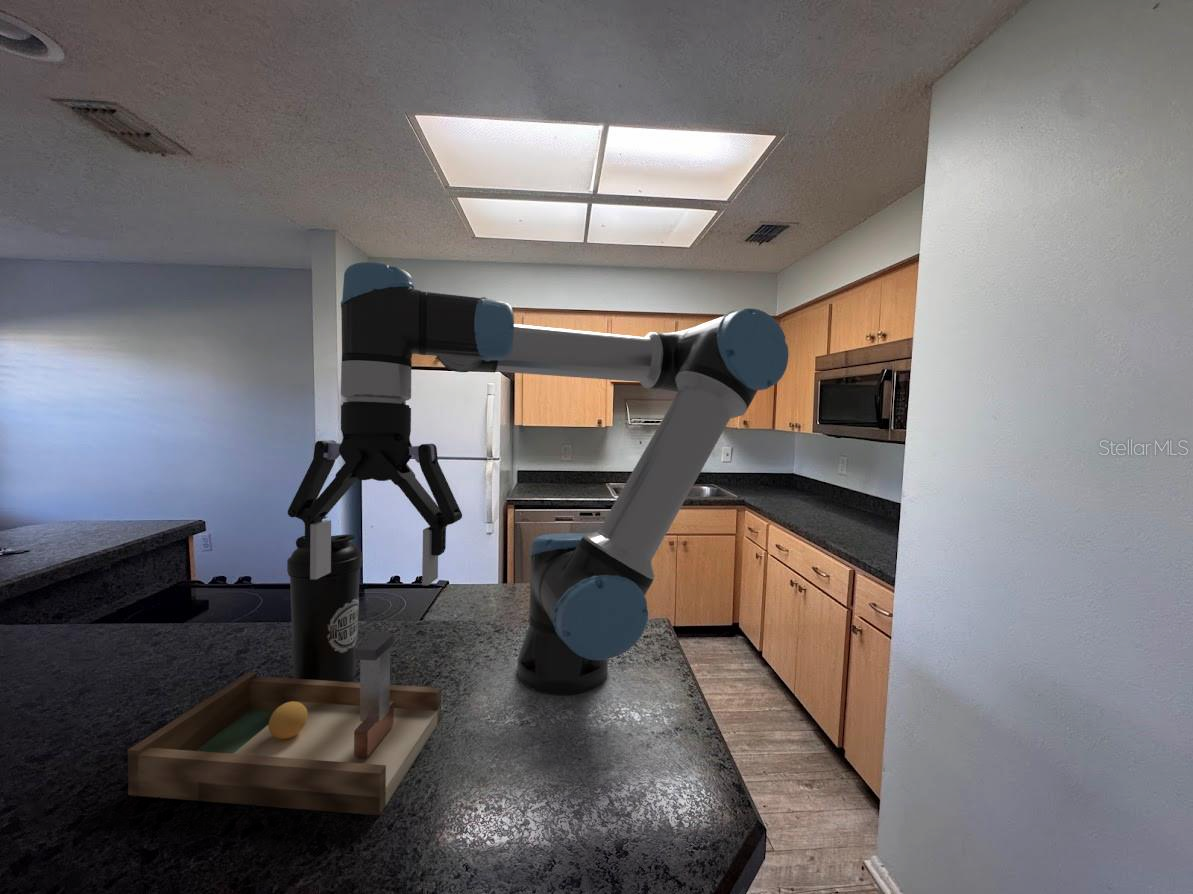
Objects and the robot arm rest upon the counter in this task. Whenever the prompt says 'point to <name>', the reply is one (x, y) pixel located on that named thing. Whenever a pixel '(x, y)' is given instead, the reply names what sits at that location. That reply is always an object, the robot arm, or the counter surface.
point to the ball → (288, 720)
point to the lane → (283, 748)
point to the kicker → (374, 693)
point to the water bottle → (325, 612)
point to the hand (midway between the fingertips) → (374, 579)
